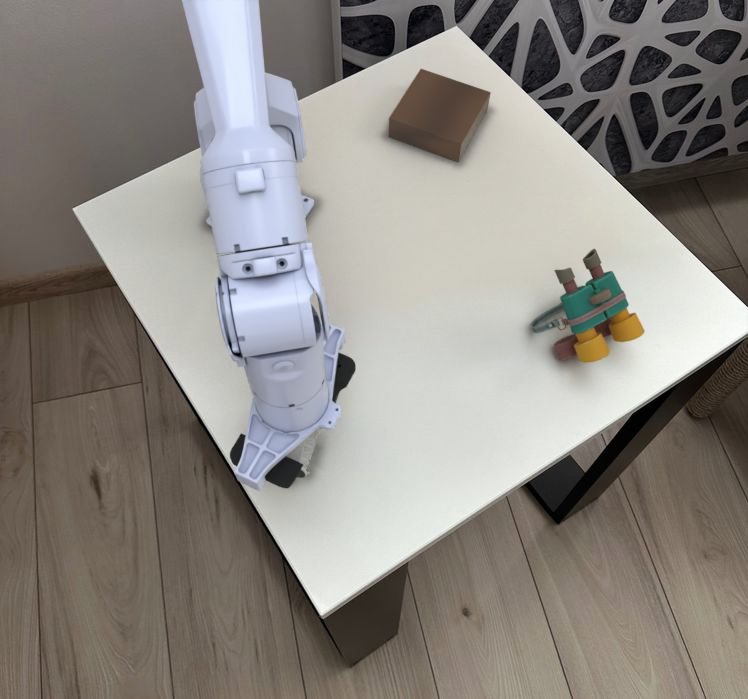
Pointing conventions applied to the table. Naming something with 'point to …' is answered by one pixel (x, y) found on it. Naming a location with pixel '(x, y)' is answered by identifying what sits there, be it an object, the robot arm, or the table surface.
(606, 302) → the binoculars
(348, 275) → the table surface
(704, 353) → the table surface
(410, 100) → the brown square tile
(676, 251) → the table surface
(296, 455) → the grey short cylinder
